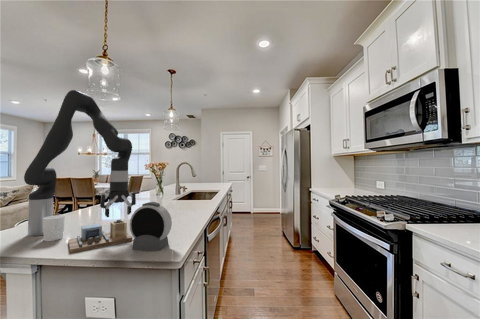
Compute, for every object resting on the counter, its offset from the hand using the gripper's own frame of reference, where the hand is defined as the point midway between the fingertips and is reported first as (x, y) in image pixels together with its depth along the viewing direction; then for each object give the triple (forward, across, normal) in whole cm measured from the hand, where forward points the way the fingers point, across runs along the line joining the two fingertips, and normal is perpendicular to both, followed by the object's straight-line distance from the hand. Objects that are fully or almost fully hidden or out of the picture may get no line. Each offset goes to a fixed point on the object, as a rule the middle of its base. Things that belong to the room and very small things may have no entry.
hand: (118, 215), depth 103 cm
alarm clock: (+10, -8, +20) cm, 24 cm away
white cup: (+11, +23, -19) cm, 31 cm away
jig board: (+11, +7, 0) cm, 13 cm away
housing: (+9, +10, -4) cm, 14 cm away
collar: (+9, 0, 0) cm, 9 cm away
